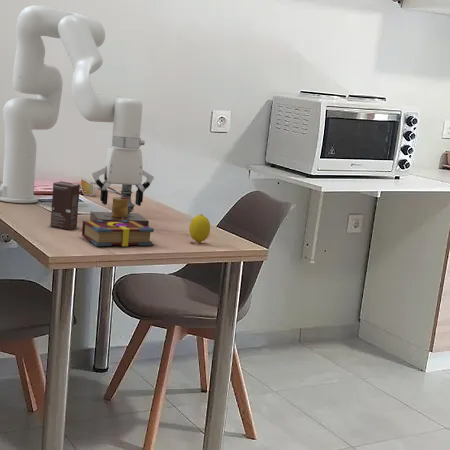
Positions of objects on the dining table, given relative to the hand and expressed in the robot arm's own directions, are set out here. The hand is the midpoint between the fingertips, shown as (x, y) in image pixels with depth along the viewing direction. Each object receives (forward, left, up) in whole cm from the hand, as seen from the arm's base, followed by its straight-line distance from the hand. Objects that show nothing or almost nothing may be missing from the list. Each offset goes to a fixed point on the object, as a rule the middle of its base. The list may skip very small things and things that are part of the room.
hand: (121, 204), depth 210 cm
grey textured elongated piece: (+6, +16, -7) cm, 19 cm away
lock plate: (0, 0, -6) cm, 6 cm away
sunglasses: (+8, +55, -7) cm, 56 cm away
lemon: (+17, -19, -7) cm, 26 cm away
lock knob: (0, 0, -3) cm, 3 cm away
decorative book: (-5, -19, -7) cm, 20 cm away
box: (-16, -3, -7) cm, 18 cm away
